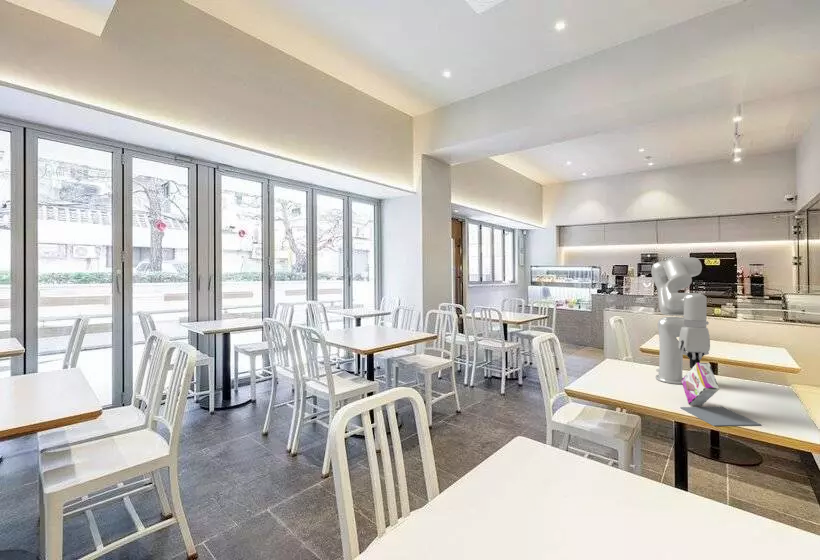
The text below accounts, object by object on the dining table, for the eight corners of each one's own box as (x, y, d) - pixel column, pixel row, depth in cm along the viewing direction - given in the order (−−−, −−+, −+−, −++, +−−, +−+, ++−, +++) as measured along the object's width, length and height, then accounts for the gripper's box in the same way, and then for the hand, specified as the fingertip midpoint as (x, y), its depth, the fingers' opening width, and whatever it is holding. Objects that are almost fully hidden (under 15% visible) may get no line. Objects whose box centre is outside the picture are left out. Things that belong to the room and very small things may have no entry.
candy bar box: (679, 380, 163) (695, 361, 150) (693, 381, 162) (710, 362, 149) (687, 405, 156) (705, 388, 143) (701, 406, 155) (720, 389, 142)
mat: (680, 408, 153) (680, 407, 153) (722, 407, 153) (722, 406, 153) (714, 426, 136) (714, 425, 136) (761, 425, 136) (761, 424, 136)
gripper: (706, 323, 159) (705, 366, 160) (670, 323, 159) (670, 366, 160) (720, 325, 152) (720, 370, 152) (683, 325, 152) (683, 371, 152)
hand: (694, 368), depth 156 cm, fingers closed
